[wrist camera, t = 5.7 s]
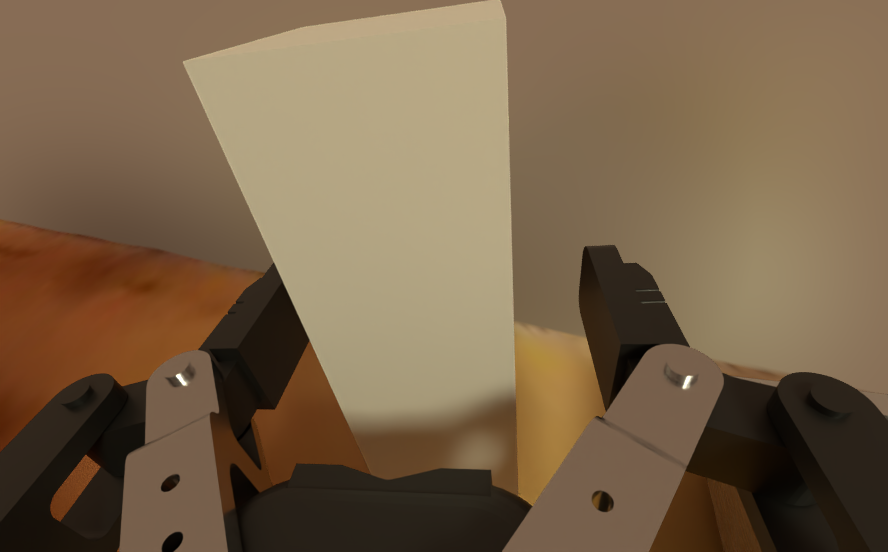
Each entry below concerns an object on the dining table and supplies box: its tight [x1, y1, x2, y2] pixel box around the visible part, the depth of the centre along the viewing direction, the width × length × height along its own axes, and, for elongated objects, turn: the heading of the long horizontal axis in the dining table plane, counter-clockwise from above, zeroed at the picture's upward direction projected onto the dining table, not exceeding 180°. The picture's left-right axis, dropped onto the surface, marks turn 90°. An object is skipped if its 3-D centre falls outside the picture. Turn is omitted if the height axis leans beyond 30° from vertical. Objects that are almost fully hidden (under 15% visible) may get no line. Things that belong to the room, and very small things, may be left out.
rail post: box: [183, 0, 518, 496], centre depth 11 cm, size 4×4×16 cm
